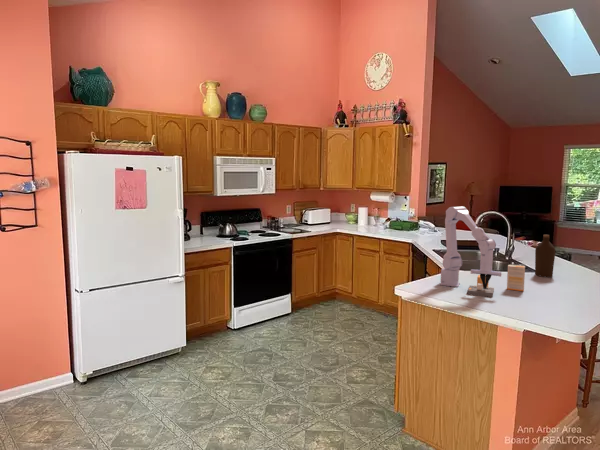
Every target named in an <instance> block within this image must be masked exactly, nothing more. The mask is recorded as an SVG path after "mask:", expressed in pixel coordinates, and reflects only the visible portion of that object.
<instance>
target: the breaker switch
mask: <svg viewBox="0 0 600 450" xmlns="http://www.w3.org/2000/svg"><path fill="white" fill-rule="evenodd" d="M476 286H477V289H479V290H482V289H483V284H479V283H478V284H477V283H476Z"/></svg>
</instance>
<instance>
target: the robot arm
mask: <svg viewBox="0 0 600 450" xmlns="http://www.w3.org/2000/svg"><path fill="white" fill-rule="evenodd" d="M469 213H470V212H469V210H468V209H467V207H465V206H464V205H461V206H450V207H448V208H447V209H446V210H445V219H444V224H445V225H444V229H445V242H446V253H444V255H443V256H442V257H443V260H442V268H441V270H440V284H439V285H440V286H448V287H456V288H457V287H459V286H460V284H461V283H460V281H459V279H460V277H459V275H460V273H459V272H460V269H461V267H462V266H463V259H462V256H461V254H460V253H459V252H458V241H457V226H456V225H457V223H458V222H459V221H462V222H463V223H464V224H465V225H466V226H467V227H468V228H469V229H470V231H471V236H472V237H473V239H475V241H476V242H477V243H478V248H479V251H480V260H479V261H480V263H479V269H470V274H473V275H480V278H481V280H482V283H483V289H487V284H488V282H490V280H491V278H492V276H494V277H495V276H496V277H502V271H497V270H496V271H495V270H493V261H494V260H493V259H494V250H495V249H496V247H497V243H496V241H495V240H494V239H493V238H490V237H489V236H488V235H487V233H486V232H485V230H484V229H483V228H482V227H478V226H477V224H476V222H475V221H474V220H473V218H472V217H471V215H470V214H469ZM485 278H486V283H485ZM488 285H489V284H488Z"/></svg>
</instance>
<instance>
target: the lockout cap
mask: <svg viewBox="0 0 600 450" xmlns="http://www.w3.org/2000/svg"><path fill="white" fill-rule="evenodd" d="M476 278H477V279H476V281H477V282H476V285H477V284H478V283H479V284H483V283H482V280H481V278H480V274H477V277H476ZM489 282H490V281H489ZM489 282H488V284H487V287H489ZM485 283H486V278H485Z"/></svg>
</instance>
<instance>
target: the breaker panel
mask: <svg viewBox="0 0 600 450" xmlns="http://www.w3.org/2000/svg"><path fill="white" fill-rule="evenodd" d="M466 293H467V294H466V295H470V294H472V295H473V296H479V295H480V296H481V297H487V296H488V297H489V298H494V293H495V287H489V286H488V287H487V289H482V290H479V289H477V285H469V286H468V288H467V291H466ZM472 295H471V296H472ZM480 296H479V297H480Z"/></svg>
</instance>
